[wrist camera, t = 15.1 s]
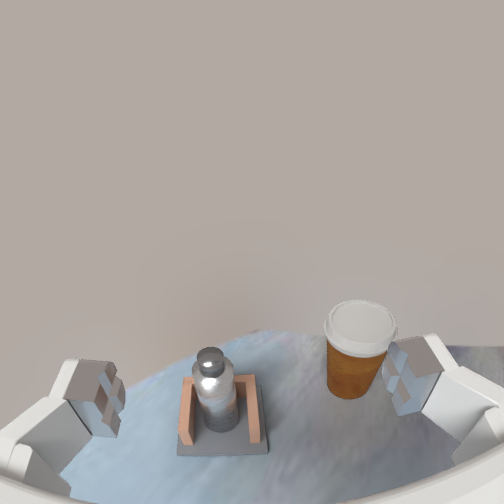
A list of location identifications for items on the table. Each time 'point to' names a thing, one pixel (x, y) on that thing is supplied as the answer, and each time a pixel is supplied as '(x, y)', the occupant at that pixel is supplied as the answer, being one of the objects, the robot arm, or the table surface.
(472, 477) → the robot arm
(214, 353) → the silver water flask
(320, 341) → the table surface
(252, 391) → the dock
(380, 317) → the disposable coffee cup
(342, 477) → the table surface
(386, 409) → the table surface
